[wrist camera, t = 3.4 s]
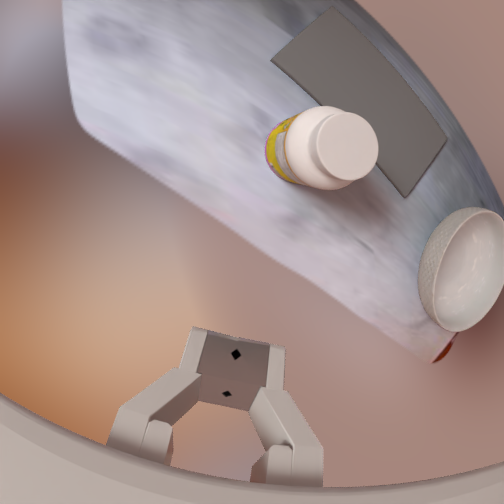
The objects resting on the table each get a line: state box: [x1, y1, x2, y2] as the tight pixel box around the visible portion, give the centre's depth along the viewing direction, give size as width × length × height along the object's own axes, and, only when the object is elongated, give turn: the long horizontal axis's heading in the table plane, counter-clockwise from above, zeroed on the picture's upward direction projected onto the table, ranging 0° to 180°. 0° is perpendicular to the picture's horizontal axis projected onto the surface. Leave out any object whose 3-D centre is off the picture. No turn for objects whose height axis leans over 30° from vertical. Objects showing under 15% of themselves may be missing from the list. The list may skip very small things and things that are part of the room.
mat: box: [270, 6, 447, 197], centre depth 30 cm, size 22×11×1 cm, turn 49°
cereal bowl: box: [418, 207, 504, 332], centre depth 35 cm, size 17×17×7 cm
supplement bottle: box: [264, 106, 378, 190], centre depth 25 cm, size 7×7×13 cm
